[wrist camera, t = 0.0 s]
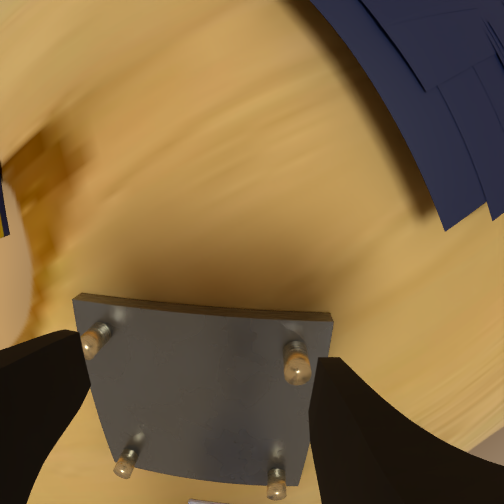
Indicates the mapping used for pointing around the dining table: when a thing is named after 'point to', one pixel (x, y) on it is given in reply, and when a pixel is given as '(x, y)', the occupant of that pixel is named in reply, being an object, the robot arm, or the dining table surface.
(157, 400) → the plate
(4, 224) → the supplement box
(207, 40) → the dining table surface
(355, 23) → the dark blue flat block
